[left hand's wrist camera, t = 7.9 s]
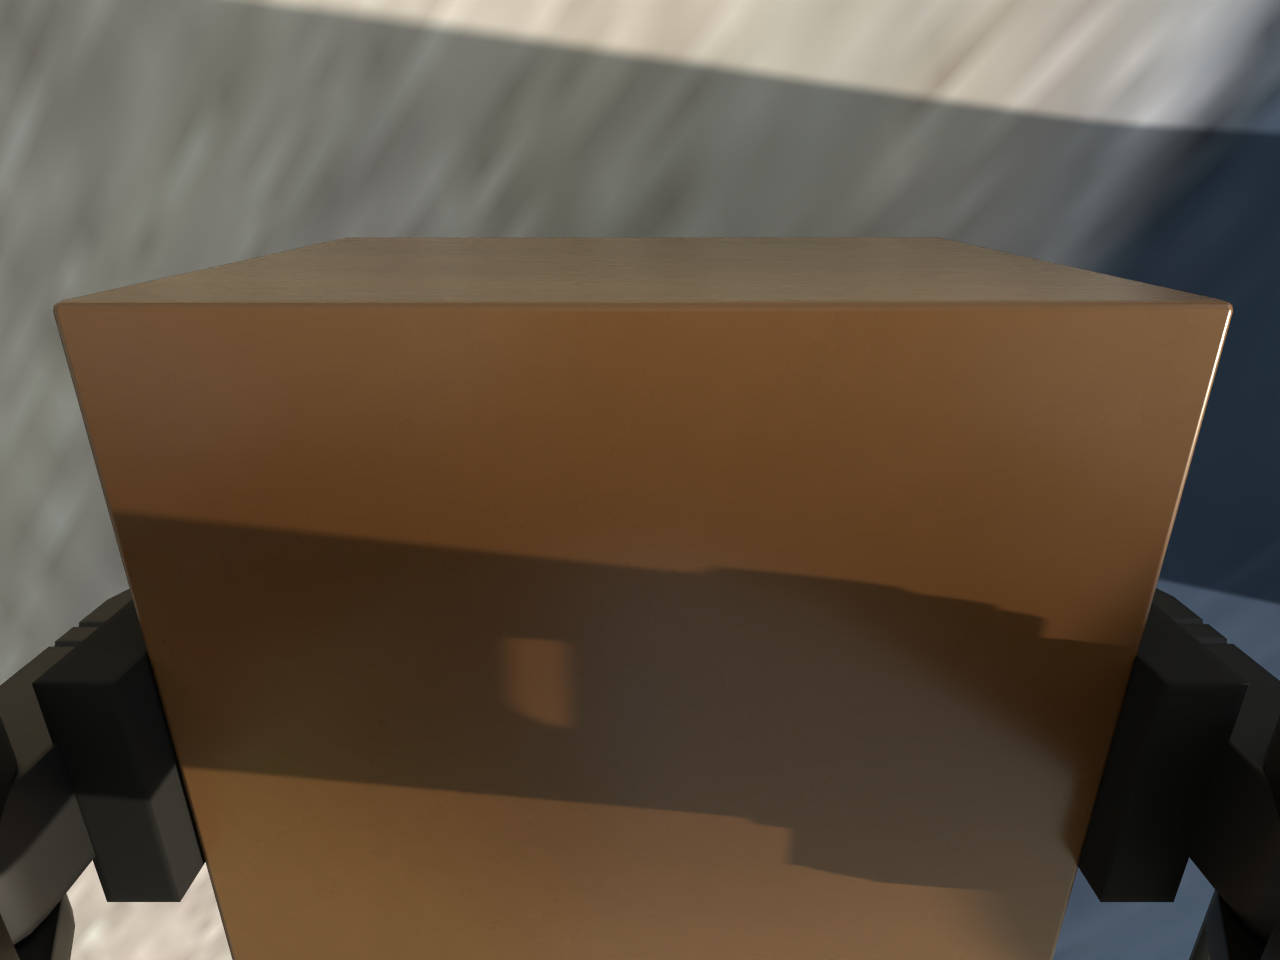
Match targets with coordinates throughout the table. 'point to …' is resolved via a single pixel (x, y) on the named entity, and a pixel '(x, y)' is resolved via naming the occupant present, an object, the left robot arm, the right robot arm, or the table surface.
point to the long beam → (642, 584)
